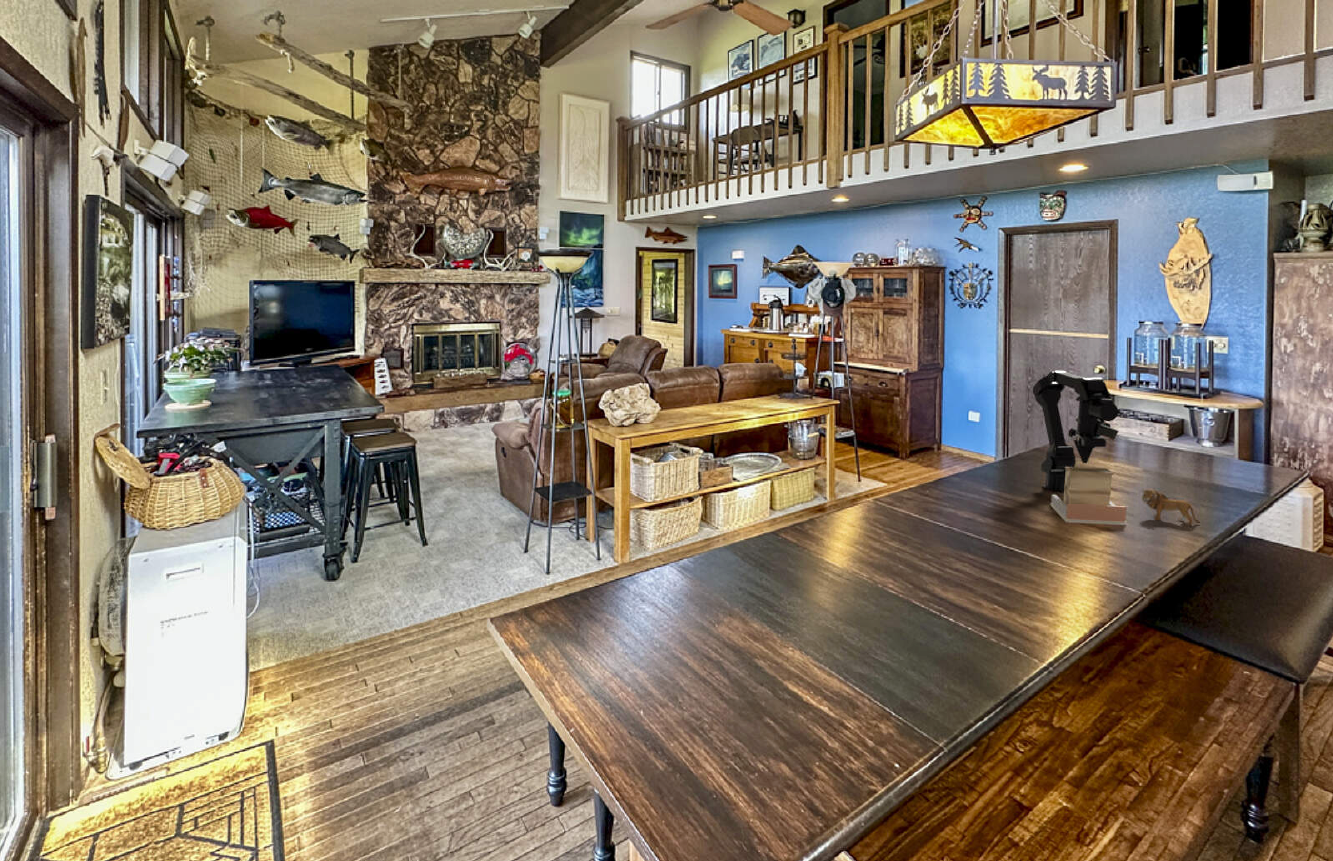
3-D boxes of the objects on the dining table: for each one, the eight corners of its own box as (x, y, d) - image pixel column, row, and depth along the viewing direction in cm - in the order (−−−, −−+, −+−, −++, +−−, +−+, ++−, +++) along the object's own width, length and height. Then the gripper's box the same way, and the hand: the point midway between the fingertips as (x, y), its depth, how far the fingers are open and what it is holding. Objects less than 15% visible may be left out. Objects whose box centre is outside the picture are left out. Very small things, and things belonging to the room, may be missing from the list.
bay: (1050, 504, 227) (1051, 488, 226) (1105, 507, 223) (1106, 490, 222) (1066, 522, 209) (1067, 504, 208) (1126, 525, 205) (1128, 507, 204)
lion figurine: (1139, 518, 211) (1141, 490, 209) (1141, 514, 215) (1143, 486, 213) (1199, 527, 202) (1203, 497, 200) (1200, 522, 206) (1203, 493, 204)
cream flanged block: (1062, 506, 222) (1065, 466, 219) (1102, 507, 219) (1105, 467, 216) (1067, 511, 216) (1071, 471, 213) (1109, 513, 212) (1113, 472, 210)
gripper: (1127, 421, 214) (1122, 470, 217) (1106, 412, 232) (1102, 457, 234) (1086, 420, 217) (1082, 469, 220) (1069, 411, 235) (1066, 456, 237)
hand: (1084, 462), depth 228 cm, fingers closed
